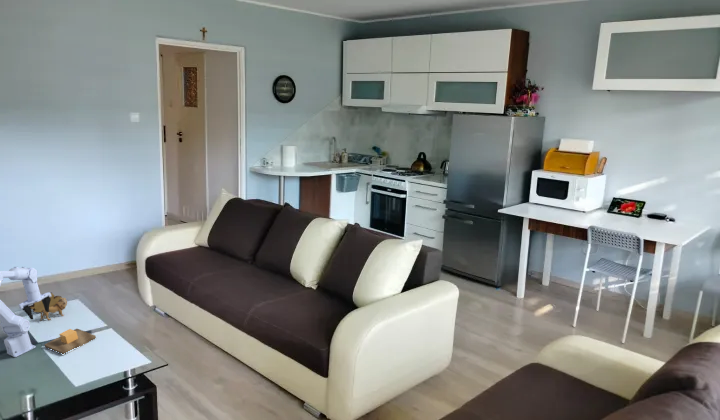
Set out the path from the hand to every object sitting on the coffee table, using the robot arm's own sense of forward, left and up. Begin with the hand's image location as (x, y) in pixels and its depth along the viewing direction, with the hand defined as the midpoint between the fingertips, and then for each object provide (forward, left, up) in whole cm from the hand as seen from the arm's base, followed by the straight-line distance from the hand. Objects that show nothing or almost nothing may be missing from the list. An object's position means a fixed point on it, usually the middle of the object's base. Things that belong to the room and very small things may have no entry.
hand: (39, 315), depth 256 cm
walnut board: (0, -24, -9) cm, 26 cm away
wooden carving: (+14, +24, -10) cm, 29 cm away
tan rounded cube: (0, -24, -8) cm, 25 cm away
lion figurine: (+12, +11, -10) cm, 19 cm away
